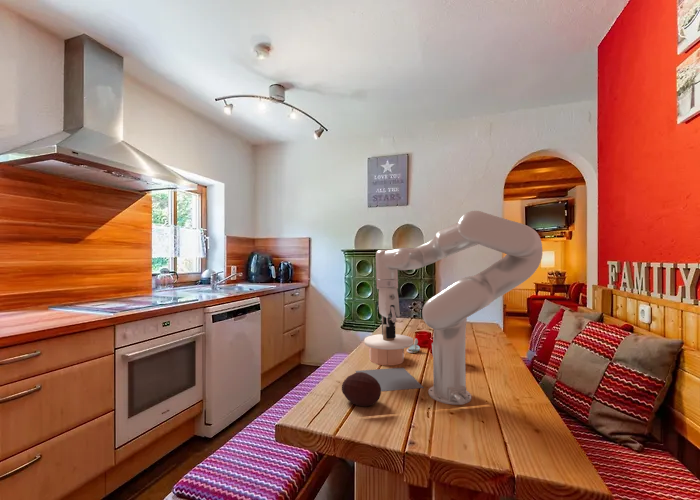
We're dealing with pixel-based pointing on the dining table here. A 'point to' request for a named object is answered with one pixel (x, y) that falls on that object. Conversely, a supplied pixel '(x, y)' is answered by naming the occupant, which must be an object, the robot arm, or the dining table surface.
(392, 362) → the bowl
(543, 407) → the dining table surface
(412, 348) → the pacifier
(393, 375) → the mat
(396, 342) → the lid
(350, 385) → the potato
